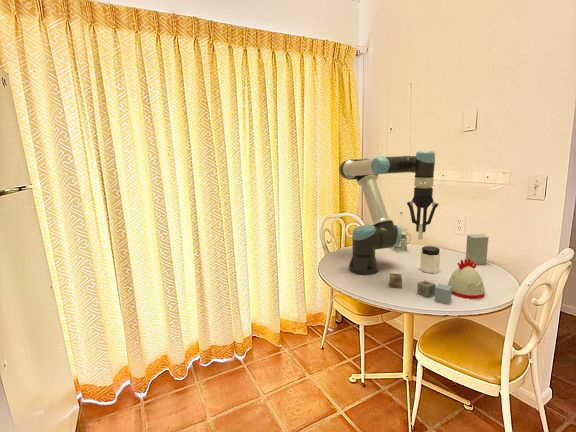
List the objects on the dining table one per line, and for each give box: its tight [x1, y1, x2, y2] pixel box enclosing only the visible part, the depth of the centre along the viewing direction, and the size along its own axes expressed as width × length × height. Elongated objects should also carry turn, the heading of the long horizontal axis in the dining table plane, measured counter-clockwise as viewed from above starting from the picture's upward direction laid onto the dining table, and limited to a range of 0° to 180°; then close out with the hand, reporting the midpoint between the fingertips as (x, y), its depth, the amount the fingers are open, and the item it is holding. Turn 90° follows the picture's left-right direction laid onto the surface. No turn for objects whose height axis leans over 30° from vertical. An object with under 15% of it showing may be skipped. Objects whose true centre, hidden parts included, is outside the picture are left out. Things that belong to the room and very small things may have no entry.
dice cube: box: [416, 280, 437, 299], centre depth 129 cm, size 5×5×5 cm
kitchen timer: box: [447, 258, 485, 300], centre depth 129 cm, size 14×14×15 cm
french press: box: [391, 211, 412, 254], centre depth 189 cm, size 10×12×25 cm
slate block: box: [434, 283, 453, 305], centre depth 123 cm, size 5×5×6 cm
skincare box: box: [465, 233, 489, 266], centre depth 163 cm, size 8×7×16 cm
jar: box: [419, 245, 441, 274], centre depth 155 cm, size 9×8×12 cm
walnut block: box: [389, 273, 403, 289], centre depth 139 cm, size 5×5×5 cm
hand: (420, 238), depth 137 cm, fingers closed
